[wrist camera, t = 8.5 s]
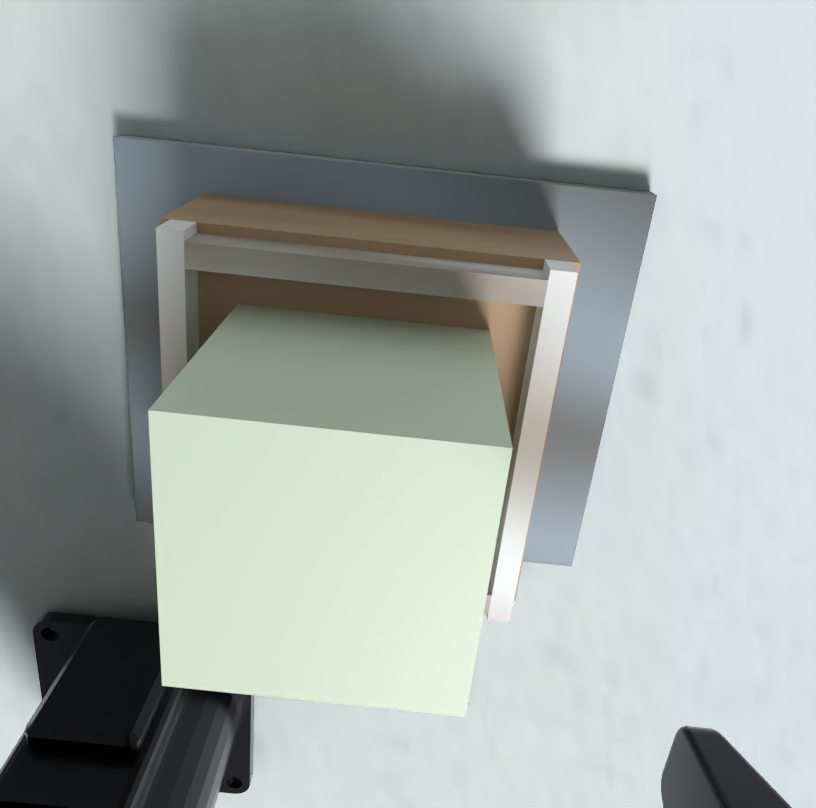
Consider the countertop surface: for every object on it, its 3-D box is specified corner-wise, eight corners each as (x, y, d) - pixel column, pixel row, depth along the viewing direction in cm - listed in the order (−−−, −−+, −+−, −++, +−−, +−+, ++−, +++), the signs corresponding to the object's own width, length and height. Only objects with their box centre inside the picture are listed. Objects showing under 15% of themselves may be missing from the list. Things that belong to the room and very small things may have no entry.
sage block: (458, 541, 17) (465, 716, 12) (236, 518, 17) (161, 685, 12) (490, 330, 15) (512, 447, 10) (237, 303, 15) (148, 409, 10)
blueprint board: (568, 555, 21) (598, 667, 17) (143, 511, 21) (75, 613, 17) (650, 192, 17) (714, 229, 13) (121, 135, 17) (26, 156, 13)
